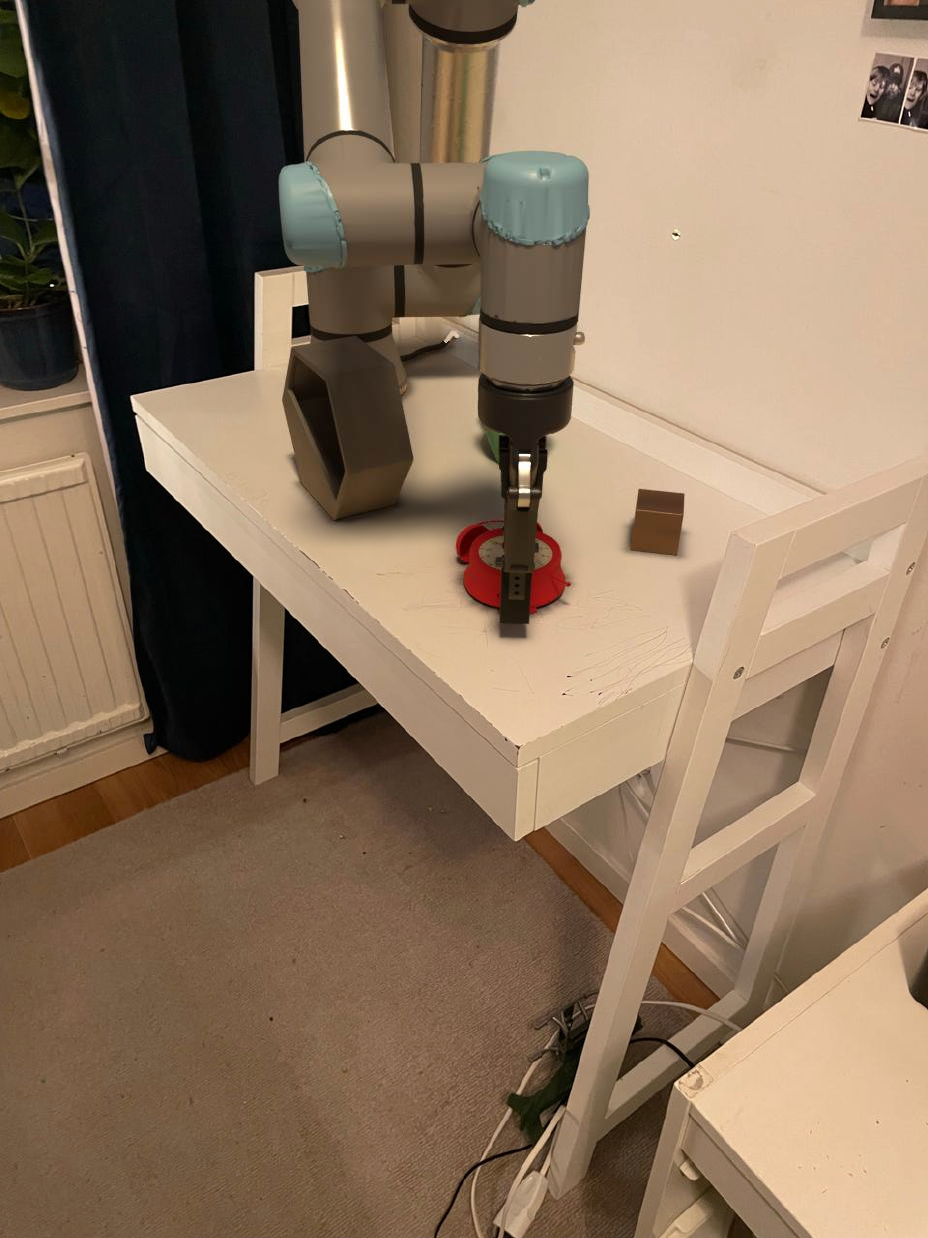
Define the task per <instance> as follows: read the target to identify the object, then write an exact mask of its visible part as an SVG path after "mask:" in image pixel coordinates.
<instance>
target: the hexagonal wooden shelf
mask: <svg viewBox="0 0 928 1238" xmlns="http://www.w3.org/2000/svg"><path fill="white" fill-rule="evenodd" d="M289 352H290V353H289V358H288V364H287V369H286V375H285V381H284V386H283V393H282V398H281V402H282V406H283V411H284V415H285V419H286V424H287V428H288V433H289V436H290V441H291V446H292V449H293V454H294V458H295V462H296V467H297V472H298V475H299V480H300V484H301V485H302V486H303V487H304V489H305V490H306V491H307V492H308V493H309V494H310V495H311V496H312V497H313V499H314V500H315V501H316V502H317V503H318V504H319V505H320V506H321V508H323V510H324V511H325V512H326V513H327V514H328V516H330V518H332V520H334V521H335V520H339V519H344V518H348V517H352V516H355V515H360V514H363V513H367V512H371V511H375V510H379V509H383V508H387V507H391V506H394V505H395V504H396V503H397V500H398V498H399V495H400V493H401V491H402V488H403V487H404V484H405V481H406V479H407V477H408V475H409V471H410V469H411V467H412V465H413V462H414V454H413V449H412V444H411V439H410V434H409V433H410V432H409V429H408V425H407V419H406V415H405V414H406V413H405V409H404V405H403V399H402V395H401V394H400V389H399V384H398V379H397V374H396V369H395V365H394V363H393V362H391V361H390V360H388V359H387V358H386V357H384V356H383V355H381V354H380V353H379V352H377V351H376V350H374V349H373V348H372V347H370V346H369V345H368V344H366V343H365V342H363V341H362V340H361V339H359V338H358V337H356V336H351V337H345V338H340V339H334V340H328V341H322V342H316V343H310V342H309V343H305V344H298V345H293V346H291V348H290V351H289Z"/></svg>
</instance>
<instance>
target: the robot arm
mask: <svg viewBox="0 0 928 1238" xmlns="http://www.w3.org/2000/svg"><path fill="white" fill-rule="evenodd" d="M291 1H292V3H293V4H294V6H295V8H296V9H297V11H298V29H299V55H300V57H299V58H300V60H299V61H300V81H301V82H300V83H301V84H300V86H301V109H302V113H301V114H302V137H303V138H302V139H303V162H301V163H298V164H297V163H296V164H289V165H285V166H283V167H282V168H281V170H280V173H279V176H278V201H279V212H280V225H281V232H282V240H283V247H284V251H285V254H286V256H287V258H288V259H289V261H291V262H292V263H293V264H294V265H297V266H302V267H303V271H304V272H305V276H306V277H305V278H306V289H307V300H308V301H307V303H308V316H309V327H310V342H309V344H310V343H316V342H322V341H328V340H334V339H340V338H345V337H351V336H356V337H358V338H359V339H361V340H362V341H363V342H365V343H366V344H368V345H369V346H370V347H372V348H373V349H374V350H376V351H377V352H379V353H380V354H381V355H383V356H384V357H386V358H387V359H388V360H390V361H391V362H393V363H394V365H395V369H396V374H397V379H398V384H399V389H400V394H401V396H402V395H404V394H405V392H406V390H407V385H408V384H407V374H406V369H405V367H404V366H403V363H405V362H409V361H411V360H414V359H416V358H418V357H420V356H421V355H424V354H427V353H431V352H437V351H439V350H442V349H444V348H445V347H447V346H448V345H449V343H450V342H451V341H448V342H447V343H445V342H444V341H443V340H441V342H438V343H435V344H429V345H426V346H423V347H419V348H417V349H416V350H414V351H412V352H410V353H407V354H403V355H400V352H399V350H398V347H397V345H396V344H397V343H396V342H395V339H394V335H393V319H394V318H397V319H398V318H399V319H400V318H455V317H457V318H466V317H468V316H478V337H477V338H478V341H477V342H478V343H477V347H478V348H477V367H478V370H479V371H480V372H481V373H482V374H481V373H480V375H479V377H478V379H477V381H478V382H477V383H478V384H477V417H478V419H479V421H480V423H481V424H482V425H483V427H484V428H485V427H487V428H488V429H490V430H492V431H494V432H497V433H502V434H504V435H499V446H498V450H499V463H498V469H499V473H500V475H499V477H500V498H501V499H502V500H503V520H504V523H503V525H502V526H501V528H502V532H503V536H504V542H503V543H502V548H503V552H504V555H502V557H495V567H501V591H500V607H499V624H503V625H504V624H507V625H529V624H530V615H531V613H530V599H531V582H532V573H533V571H534V569H535V563H534V553H539V543H535V542H536V530H537V522H538V517H539V516H538V515H539V508H540V500H541V499H542V498H543V489H544V488H543V487H544V473H545V472H546V471H547V469H548V458H549V457H548V455H549V453H548V451H549V450H548V448H547V436H548V435H554V434H557V433H559V432H560V431H562V430H564V429H565V428H566V427H567V426H568V425H569V423H570V421H571V419H572V410H573V399H574V387H575V386H574V385H575V383H574V379H573V377H571V375H572V374H573V372H574V371H575V364H576V354H577V353H576V348H575V346H581V345H584V344H585V341H586V336H585V333H584V332H582V331H578V327H579V326H578V325H579V324H578V322H579V316H580V305H581V294H582V284H583V272H584V259H585V248H586V236H587V227H588V223H589V220H590V216H591V208H590V207H591V206H590V205H589V182H590V181H589V180H590V174H589V169H588V166H587V165H586V163H585V162H584V161H583V160H582V159H580V158H579V157H578V156H575V155H570V154H569V155H567V154H565V153H563V152H557V151H549V150H548V151H546V150H518V151H508V152H502V153H496V154H491V146H492V145H491V143H492V134H493V125H494V124H493V122H494V112H495V102H496V91H497V81H498V71H499V60H500V49H501V41H503V40H504V39H505V38H508V37H509V36H510V34H512V32H513V31H514V29H515V28H516V25H517V21H518V12H519V6H520V7H521V8H527V6H530V5H533V4H534V3H535V2H536V0H291ZM384 4H391V5H408V17H409V20H410V22H411V24H412V26H413V27H414V28H415V29H416V30H417V31H418V32H419V33H420V34H421V35H422V36H421V37H422V38H421V73H420V74H421V76H420V77H421V80H420V118H419V122H420V123H419V160H418V161H419V162H396V158H395V157H396V156H395V145H394V135H393V125H392V115H391V114H392V113H391V104H390V103H391V102H390V92H389V82H388V81H389V80H388V73H387V72H388V71H387V61H386V51H385V40H384V29H383V21H382V20H383V19H382V9H383V7H384ZM490 154H491V155H490Z"/></svg>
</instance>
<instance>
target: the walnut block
mask: <svg viewBox="0 0 928 1238" xmlns="http://www.w3.org/2000/svg"><path fill="white" fill-rule="evenodd" d="M685 494H686V493H685V492H675V491H666V490H665V491H664V490H656V489H646V488H638V489H637V496H636V497H637V498H636V503H635V511H634V512H635V513H634V520H633V526H632V527H633V528H632V534H631V543H630V551H635V552H644V553H652V554H653V553H654V554H663V555H672V556H677V555H678V552H679V546H680V540H681V534H682V528H683V522H684V517H685V516H684V515H685Z"/></svg>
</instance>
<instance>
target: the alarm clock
mask: <svg viewBox="0 0 928 1238" xmlns="http://www.w3.org/2000/svg"><path fill="white" fill-rule="evenodd" d="M494 523H496V524H497V523H500V524H501V523H502V524H504V519H496V520H495V519H494V520H493V519H491V520H485V521H480V522H476V523H474V524H470V525H468V526H466V527H464V528H463V529H462V531H460V533H459V534H458V535H457V538H456V542H455V551H456V555H457V556H458V558H459V559H460V560H461V561H462V562H464V563H468V564H467V566H466V568H465V569H464V571H463V585H464V588H465V590H466V591H467V592H468V593H469V594H470V595H471V596H472V597H473V598H474V599H476V600H478V601H479V602H482V603H484V604H486V605H488V606H492V607H496V608H500V591H501V567H495V557H502V555H504V552H503V548H502V543H503V542H504V536H503V532H502V527H498V528H493V529H489V528H488V527H487V526H485V524H486V525H487V524H494ZM535 543H539V553H534V563H535V569H534V571H533V573H532V582H531V599H530V614H536V613H537V612H538V609H537V607H541V606H542V607H543V606H544V605H547V604H550V603H551V602H552V601H554V600H556V599H558V598H559V597H560V596H561V595H562V593H563V592H564V590H565V587H570V586H571V585H572V583H571V582H570V581H566V579H567V578H566V575H565V572H564V571H563V569H562V557H563V554H562V553H563V552H562V550H561V546H560V544H559V543H558V541H556V539H555V538H553V537H552V536H551V535H549V534H547V533H545V532H544V530H543V528H542V526H541V524H540V523H539V521H537V530H536V542H535Z"/></svg>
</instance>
